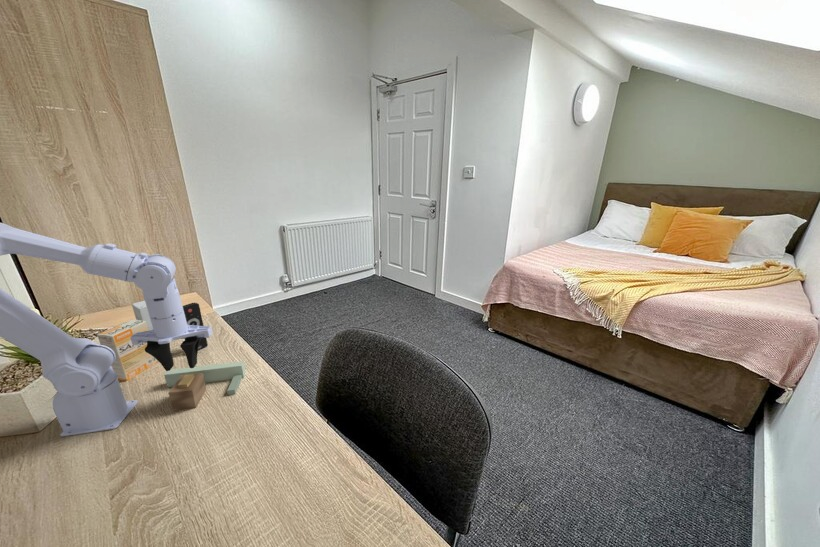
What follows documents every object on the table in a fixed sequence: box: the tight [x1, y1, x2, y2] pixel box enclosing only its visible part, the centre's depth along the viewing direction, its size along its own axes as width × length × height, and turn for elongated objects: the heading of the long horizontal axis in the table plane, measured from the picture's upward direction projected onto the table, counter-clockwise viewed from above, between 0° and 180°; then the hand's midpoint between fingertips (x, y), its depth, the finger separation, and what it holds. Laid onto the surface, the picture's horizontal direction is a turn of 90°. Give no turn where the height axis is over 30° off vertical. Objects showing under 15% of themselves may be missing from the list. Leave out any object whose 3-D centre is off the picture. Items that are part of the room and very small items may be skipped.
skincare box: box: [131, 300, 153, 331], centre depth 93 cm, size 6×4×12 cm
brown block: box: [168, 373, 207, 412], centre depth 70 cm, size 4×6×6 cm
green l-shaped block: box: [163, 360, 247, 396], centre depth 74 cm, size 17×8×4 cm, turn 103°
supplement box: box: [96, 319, 159, 382], centre depth 78 cm, size 8×5×13 cm, turn 168°
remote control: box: [182, 302, 208, 352], centre depth 87 cm, size 5×2×15 cm, turn 149°
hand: (181, 366), depth 69 cm, fingers open, 4 cm apart
